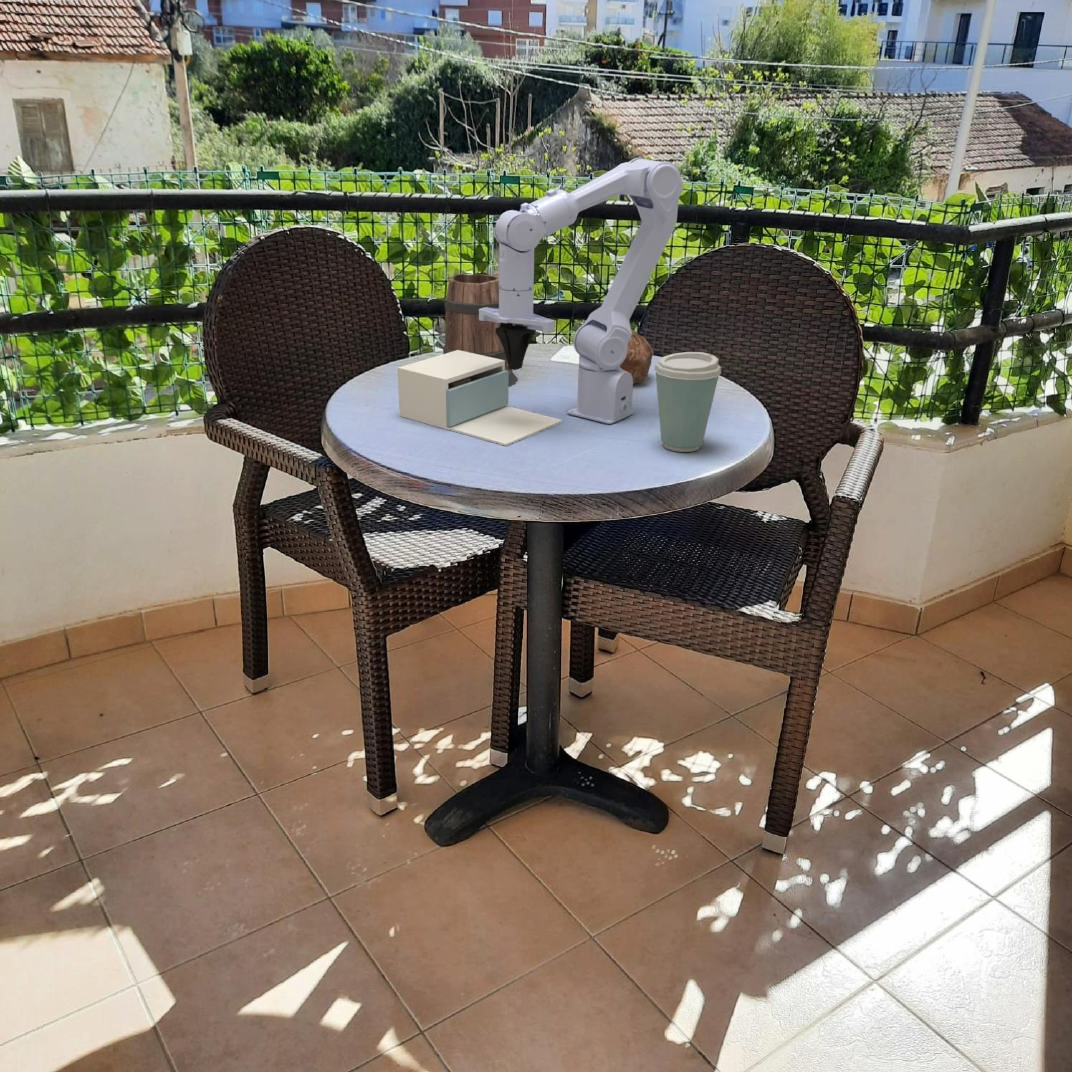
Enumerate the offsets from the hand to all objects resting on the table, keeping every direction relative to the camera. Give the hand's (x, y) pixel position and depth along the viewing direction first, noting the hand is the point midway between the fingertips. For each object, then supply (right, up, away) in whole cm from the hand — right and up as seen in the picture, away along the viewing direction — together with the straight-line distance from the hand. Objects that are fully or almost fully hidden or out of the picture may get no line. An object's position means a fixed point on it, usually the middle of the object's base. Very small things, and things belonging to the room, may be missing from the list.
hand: (515, 368), depth 165 cm
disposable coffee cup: (+28, -14, -4) cm, 31 cm away
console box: (-6, -8, +6) cm, 12 cm away
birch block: (-11, -5, +9) cm, 15 cm away
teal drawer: (-11, -6, +9) cm, 16 cm away
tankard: (-7, +4, +31) cm, 32 cm away
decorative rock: (+21, +3, +31) cm, 37 cm away
